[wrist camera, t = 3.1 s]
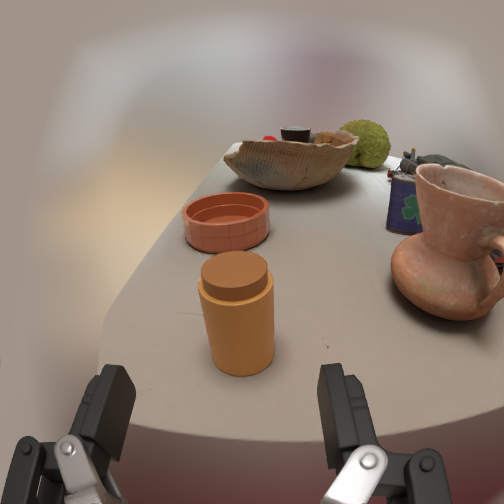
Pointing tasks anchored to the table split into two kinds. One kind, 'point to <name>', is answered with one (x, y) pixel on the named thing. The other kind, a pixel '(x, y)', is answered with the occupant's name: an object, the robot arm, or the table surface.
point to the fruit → (368, 144)
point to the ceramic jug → (453, 244)
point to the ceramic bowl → (292, 161)
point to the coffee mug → (296, 134)
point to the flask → (403, 206)
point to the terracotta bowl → (226, 221)
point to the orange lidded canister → (238, 311)
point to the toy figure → (268, 138)
